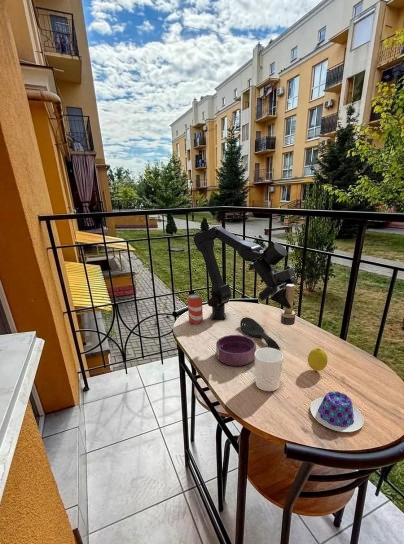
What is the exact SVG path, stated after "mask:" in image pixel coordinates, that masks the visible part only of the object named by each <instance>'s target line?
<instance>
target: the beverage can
mask: <svg viewBox="0 0 404 544" xmlns="http://www.w3.org/2000/svg"><path fill="white" fill-rule="evenodd" d="M187 313H188V322H189V323H191V324H195V325H196V324H197V325H198V324H200V323H202V322H203V321H204V317H203V315H204V314H203V313H204V312H203V298H202V297H201V294H196V293H193V294H189V295H188V298H187Z"/></svg>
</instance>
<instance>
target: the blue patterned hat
mask: <svg viewBox="0 0 404 544" xmlns="http://www.w3.org/2000/svg"><path fill="white" fill-rule="evenodd" d="M309 410H310V414H311V415H312V417H313V418H314V419H315V420H316V421H317V422H318V423H319V424H320V425H322V426H324V427H325V428H328V429H330V430H333V431H337V432H340V433H353V432H356V431H359V430H360V429H361V428H362V427H363V426H364V423H365V420H364V416H363V414H362V412H361V411H360V410H359V409H358V408H357V407H356V406H355V405H353V401H352V399H351V398H350V397H348V395H347V394H346V393H343V392H340V391H328V392H327V393H326V394H325V395H324V396H322V397H320V396H319V397H318V398H316V399H314V400H313V401H311V403H310V406H309Z"/></svg>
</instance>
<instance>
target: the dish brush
mask: <svg viewBox="0 0 404 544" xmlns="http://www.w3.org/2000/svg"><path fill="white" fill-rule="evenodd" d="M295 289H296V285H295V284H294V283H293V284H287V285H286V299H287V300H288V302H289V304H290V306H291V308H290V309H288V308H286V307H284V309H283V310H281V314H280V324H282V325H284V326H293V325H295V321H296V311H295V310H294V306H293V300H294V299H295ZM294 301H295V300H294Z"/></svg>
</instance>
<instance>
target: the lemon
mask: <svg viewBox="0 0 404 544" xmlns="http://www.w3.org/2000/svg"><path fill="white" fill-rule="evenodd" d="M307 365H308V366H309V367H310V369H312V370H313V371H314V372H320V371H323V370H324V369H325V368H326V367H327V365H328V355H327V352H326V351H325V350H324V349H322V348H320V347H316V348H313V349H311V350H310V352H309V353H308V355H307Z"/></svg>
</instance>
